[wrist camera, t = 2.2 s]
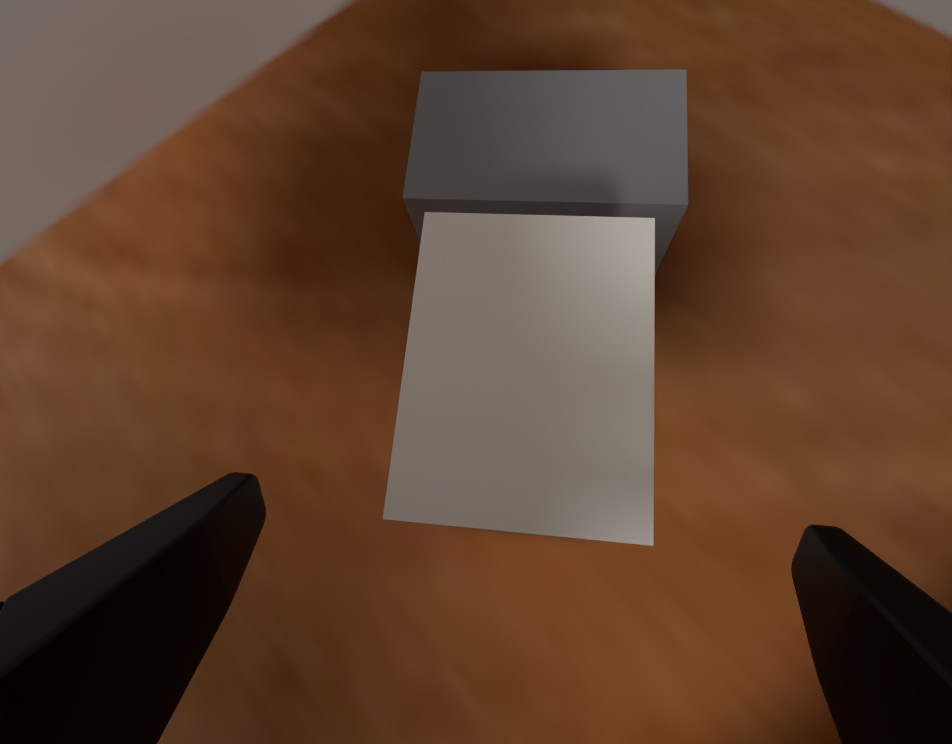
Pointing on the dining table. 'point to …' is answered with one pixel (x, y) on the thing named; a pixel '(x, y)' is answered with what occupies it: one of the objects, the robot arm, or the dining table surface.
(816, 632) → the robot arm
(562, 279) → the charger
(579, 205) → the block
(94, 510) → the dining table surface
